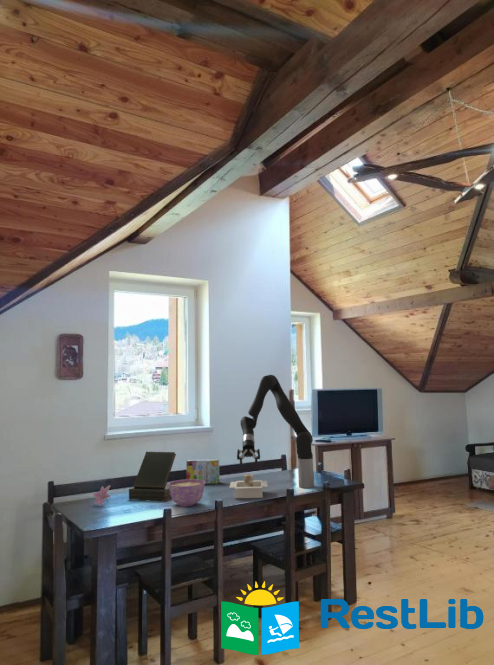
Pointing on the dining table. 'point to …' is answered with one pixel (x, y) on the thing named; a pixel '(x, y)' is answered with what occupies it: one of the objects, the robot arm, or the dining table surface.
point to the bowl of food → (186, 491)
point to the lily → (101, 495)
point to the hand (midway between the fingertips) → (248, 464)
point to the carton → (248, 489)
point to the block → (248, 480)
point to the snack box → (204, 470)
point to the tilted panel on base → (153, 477)
